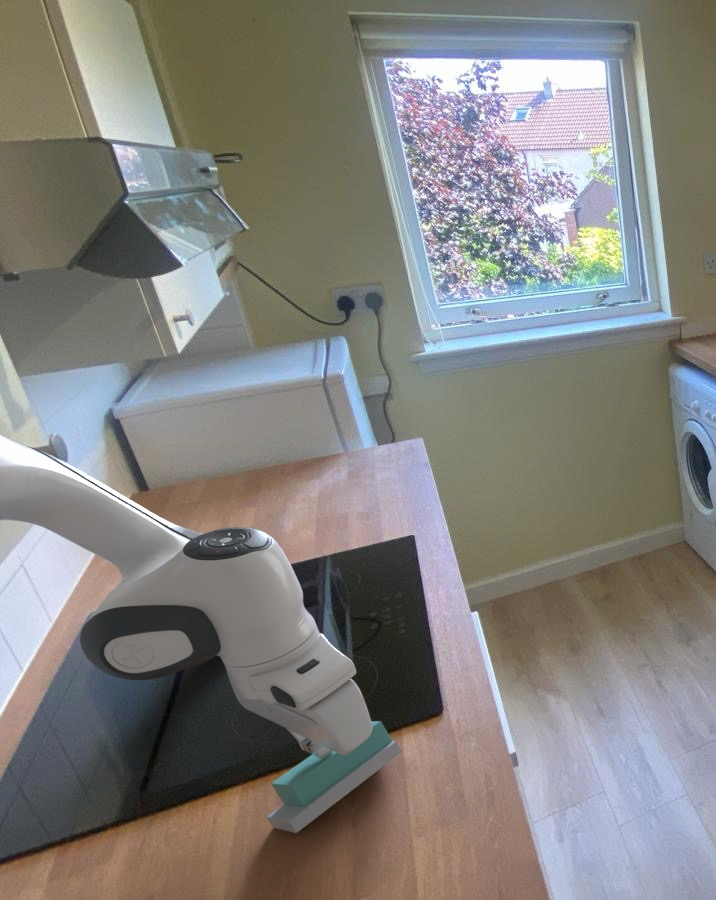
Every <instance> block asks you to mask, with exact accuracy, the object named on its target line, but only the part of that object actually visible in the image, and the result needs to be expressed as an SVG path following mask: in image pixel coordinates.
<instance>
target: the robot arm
mask: <svg viewBox="0 0 716 900" xmlns="http://www.w3.org/2000/svg"><path fill="white" fill-rule="evenodd" d="M1 521H13V522H23V523H28V524H31V525H36V526H39V527H40V528H41V527H42V528H44V529H46V530H48V531H50V532H52V533H54V534H56V535H58V536H59V537H61V538H63V539H66V540H68V541H69V542H71V543H73V544H74V545H77V546H78V547H81V548H82V549H84V550H86V551H87V552H89V553H92V554H93V555H96V556H98V557H99V558H101V559H104V560H105V561H107V562H109V563H110V564H112V565H113V566H114V567H115V568H116V569H117V570H118V571H119V573H120V576H121V580H119V582H118V583H117V584H116V586H115V587H114V588H113V589H112V590H110V592H109V593H108V594H107V595H106V596H105V597H104V599H102V601H101V602H100V604H99V605H98V606H97V607H96V608H95V610H94V611H93V612H92V613H91V614H90V617H89V618H88V619H87V621H86V623H85V624H84V625H83V627H82V628H81V631H80V636H79V642H80V648H81V651H82V653H83V654H84V656H85V658H86V659H87V660H88V661H89V662H90V663H91V664H92V665H93V666H94V667H95V668H97V669H98V670H100V671H101V672H103V673H105V674H107V675H109V676H111V677H114V678H118V679H122V680H127V681H148V680H155V679H160V678H164V677H167V676H169V675H174V674H176V673H179V672H182V671H184V670H187V669H191V668H193V667H197V666H199V665H201V664H203V663H205V662H208V661H210V660H212V659H213V658H215V657H217V656H218V657H219V658H220V659H221V661H222V663H223V665H224V667H225V671H226V675H227V678H228V680H229V683H230V685H231V688H232V691H233V693H234V695H235V698H236V700H237V701H238V702H239V704H240V705H241V706H242V707H243V708H244V709H245V710H246V711H249V712H251V713H253V714H256V715H257V716H259V717H262V718H264V719H266V720H268V721H270V722H272V723H274V724H277V725H278V726H281V727H283V728H285V729H286V730H287V731H288V732H289V734H290V735H292V737H293V738H294V739H295V740H296V741H297V743H298V745H299V747H300V748H301V750H302V751H304V752H306V753H308V754H311V755H312V754H313V755H315V756H316V757H318V758H320V759H324V758H326V757H327V756H328V755H329V754H331V753H332V752H333V751H335V752H337V753H339V754H340V755H347V754H349V753H350V752H351V751H353V750H354V749H355V748H357V747H358V746H359V745H361V744H362V743H363V742H364V741H365V740H367V739H368V738H369V737H370V735H371V733H372V729H373V727H372V722H371V721H372V719H371V715H370V712H369V710H368V707H367V703H366V701H365V697H364V695H363V693H362V691H361V689H360V688H359V686H358V684H357V683H356V682H355V680H353V679H352V678H353V677H354V676H355V675H356V674H357V668H356V666H355V664H354V662H353V661H352V659H350V658H349V657H348V656H346V655H345V654H344V653H343V652H341V651H340V650H338V649H337V648H336V647H335V646H333V645H332V644H331V642H330V641H329V640H328V639H327V638H326V636H325V635H324V634H323V633H322V632H320V630H319V628H318V625H317V623H316V620H315V618H314V616H313V615H312V614H311V613H309V611H308V610H307V609H306V607H305V604H304V591H303V589H302V586H301V583H300V581H299V579H298V577H297V575H296V573H295V570H294V569H293V566H292V564H291V563H290V560H289V559H288V557H287V556H286V554H285V552H284V550H283V549H282V547H281V546H280V545H279V543H278V542H277V541H276V540H275V539H274V538H273V536H271V535H270V534H268V533H267V532H265V531H263V530H261V529H258V528H254V527H253V528H252V527H243V526H235V527H233V526H231V527H223V528H218V529H215V530H212V531H207V532H205V533H201V532H199V531H195V530H191V529H189V528H186V527H183V526H180V525H178V524H174V523H173V522H170V521H168V520H167V519H165V518H162V517H160V516H159V515H157V514H155V513H153V511H150V510H149V509H147V508H146V507H143V506H142V505H140V504H138V503H137V502H135V501H133V500H131V499H130V498H128V497H126V496H125V495H123V494H121V493H120V492H118V491H116V490H115V489H113V488H111V487H110V486H108V485H106V484H104V483H103V482H102V481H100V480H98V479H96V478H94V477H92V476H91V475H89V474H87V473H85V472H84V471H82V470H80V469H79V468H77V467H75V466H73V465H71V464H69V463H68V462H66V461H64V460H62V459H60V458H58V457H56V456H54V455H51V454H49V453H47V452H46V451H42V450H40V449H37V448H34V447H31V446H28V445H24V444H22V443H20V442H17V441H14V440H12V439H9V438H8V437H5V436H4V435H2V434H0V522H1Z"/></svg>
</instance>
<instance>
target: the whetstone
mask: <svg viewBox="0 0 716 900" xmlns="http://www.w3.org/2000/svg"><path fill="white" fill-rule="evenodd" d="M371 722H372V727H373V729H372V733H371V735H370V737H369V738H368V739H367V740H365V741H364V742H363V743H362V744H361V745H359V746H358V747H357V748H355V749H354V750H353V751H351V752H350V753H349V754H347V755H340V754H339V753H337V752H335V751H333V752H332V753H331V754H329V755H328V756H327V757H326V758H324V759H320V758H318V757H316V756H315V755H313V754H311V755H309V756H308V757H306V758H305V759H304V760H302V761H301V762H300V763H298V764H297V765H295V766H294V767H291V768H290V769H289V770H288V771H286V772H285V773H284V774H282V775H281V776H279V777H278V778H276V779H275V780H274V781H272V782H271V783H270V785H271V786H272V788H273V790H274V791H275V792H276V794H277V796H278V797H279V799H280V800H281V802H282V803H283V804H281V805H280V806H279V807H277V808H276V809H275V810H274V811H272V812H271V813H270V814H268V815H266V817H265V818H266V819H267V821H268V823H269V824H270V825H271V828H273V829H276V830H281V831H285V832H288V833H289V832H290V833H294V834H297V833H298V832H300V831H302V829H304V828H305V827H306V826H308V825H310V823H312V822H313V821H314V820H316V819H318V817H319V816H321V815H322V814H323V813H325V812H326V811H327V810H328V809H329V808H331V807H332V806H334V805H335V804H337V802H339V801H340V800H342V799H343V798H344V797H346V796H347V795H348V794H350V793H351V792H352V791H353V790H355V789H356V788H358V787H359V786H360V785H361V784H362V783H364V782H365V781H366V780H368V779H369V778H370V777H371V776H373V775H374V774H375V773H377V772H378V771H380V770H381V768H383V767H384V766H386V765H387V764H388V763H390V762H391V761H392V760H394V759H395V758H396V757H397V756H399V755H400V754H402V753H403V750H402V748H401V747H400V745H399V743H398V741H396V740H393V739H392V737H391V736H390V734H389V732H388V730H387V729H386V727H385V726H384V724H383V722H382V721H381V720H379V721H378V720H375V721H374V720H373V721H372V720H371Z"/></svg>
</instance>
